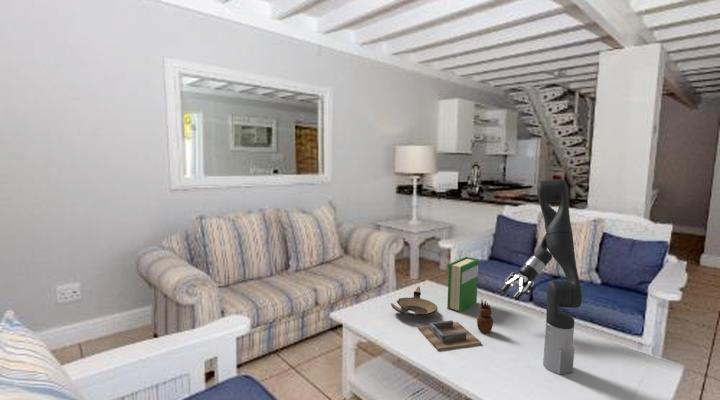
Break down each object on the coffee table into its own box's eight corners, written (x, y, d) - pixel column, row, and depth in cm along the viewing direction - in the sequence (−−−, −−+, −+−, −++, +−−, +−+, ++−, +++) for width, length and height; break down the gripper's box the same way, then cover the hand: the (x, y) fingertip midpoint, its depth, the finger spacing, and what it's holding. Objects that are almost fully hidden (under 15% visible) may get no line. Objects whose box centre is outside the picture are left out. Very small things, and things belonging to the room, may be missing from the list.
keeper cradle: (481, 344, 161) (481, 335, 161) (437, 350, 156) (438, 341, 156) (457, 323, 180) (457, 315, 180) (417, 328, 175) (418, 320, 175)
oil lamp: (382, 317, 187) (382, 301, 186) (410, 297, 212) (411, 284, 211) (424, 329, 175) (424, 313, 174) (449, 307, 199) (450, 293, 198)
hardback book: (460, 313, 192) (462, 266, 189) (447, 309, 197) (449, 263, 194) (476, 303, 205) (478, 259, 202) (463, 299, 210) (465, 256, 207)
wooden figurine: (475, 332, 172) (477, 300, 170) (478, 327, 177) (479, 296, 175) (491, 336, 169) (493, 303, 167) (493, 330, 174) (495, 298, 172)
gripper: (517, 259, 181) (494, 284, 180) (538, 268, 168) (514, 296, 166) (525, 269, 183) (503, 294, 182) (547, 278, 170) (524, 306, 168)
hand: (508, 295), depth 174 cm, fingers open, 8 cm apart
